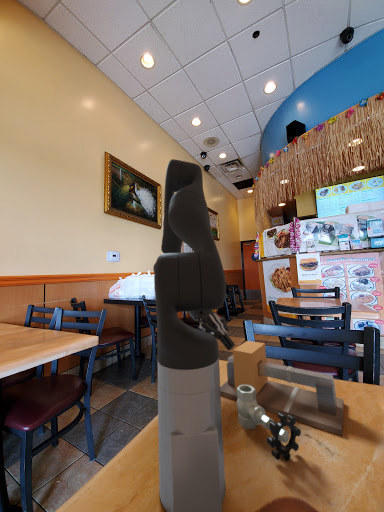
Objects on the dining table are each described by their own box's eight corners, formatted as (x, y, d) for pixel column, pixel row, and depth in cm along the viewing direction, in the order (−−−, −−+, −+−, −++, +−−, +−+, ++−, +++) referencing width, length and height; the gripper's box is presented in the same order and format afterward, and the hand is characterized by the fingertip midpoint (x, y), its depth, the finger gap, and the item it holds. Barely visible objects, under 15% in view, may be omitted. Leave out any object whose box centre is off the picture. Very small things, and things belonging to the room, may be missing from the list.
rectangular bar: (227, 384, 56) (226, 358, 57) (234, 378, 59) (233, 354, 60) (335, 416, 41) (331, 380, 42) (336, 406, 44) (333, 373, 45)
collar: (235, 390, 51) (232, 350, 53) (250, 375, 59) (247, 340, 60) (254, 396, 48) (251, 353, 50) (267, 380, 56) (264, 343, 57)
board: (217, 393, 53) (217, 389, 53) (237, 376, 62) (237, 372, 63) (341, 435, 37) (341, 429, 38) (343, 403, 47) (343, 398, 47)
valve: (228, 422, 42) (272, 469, 31) (226, 387, 43) (269, 422, 32) (254, 413, 45) (303, 453, 34) (252, 380, 46) (299, 410, 35)
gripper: (188, 295, 60) (229, 345, 51) (212, 292, 71) (249, 334, 62) (175, 312, 63) (212, 364, 54) (200, 307, 73) (234, 349, 64)
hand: (232, 347), depth 58 cm, fingers closed
